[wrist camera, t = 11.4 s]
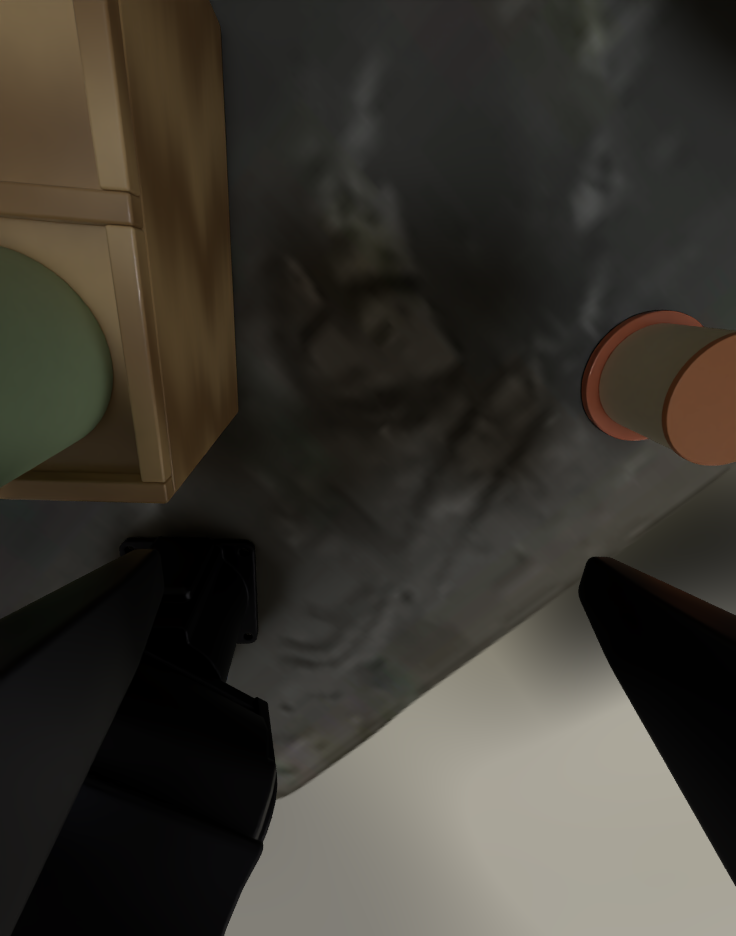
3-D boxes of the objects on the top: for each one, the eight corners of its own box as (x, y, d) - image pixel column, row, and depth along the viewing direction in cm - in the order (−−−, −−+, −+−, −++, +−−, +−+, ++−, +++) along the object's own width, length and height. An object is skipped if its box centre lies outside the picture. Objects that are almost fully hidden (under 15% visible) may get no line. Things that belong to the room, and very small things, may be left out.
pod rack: (238, 411, 20) (167, 504, 11) (75, 404, 19) (-128, 496, 11) (220, 25, 15) (65, -332, 6) (-3, -3, 14) (-517, -446, 6)
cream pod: (681, 432, 21) (768, 468, 17) (583, 427, 21) (648, 463, 16) (719, 324, 19) (829, 335, 15) (614, 316, 19) (695, 325, 14)
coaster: (680, 440, 22) (687, 443, 21) (567, 435, 21) (572, 438, 21) (725, 314, 20) (735, 315, 19) (600, 305, 19) (607, 306, 18)
